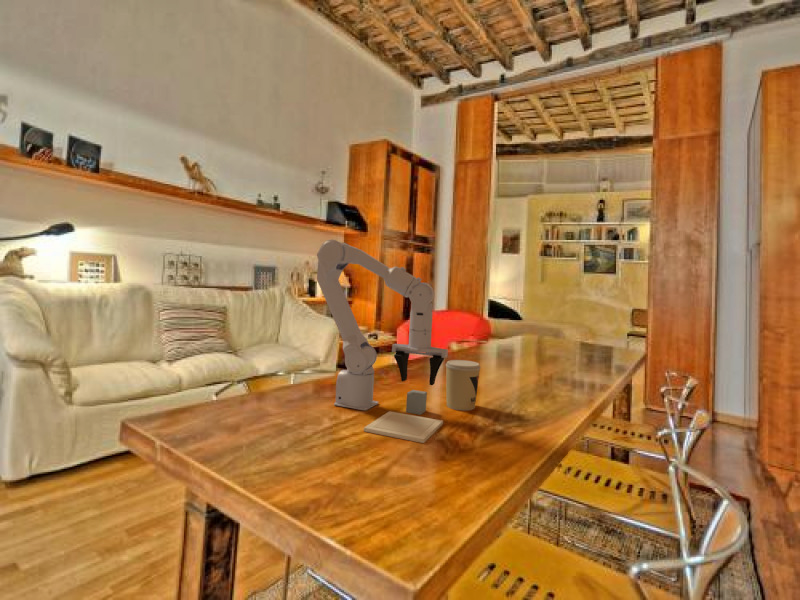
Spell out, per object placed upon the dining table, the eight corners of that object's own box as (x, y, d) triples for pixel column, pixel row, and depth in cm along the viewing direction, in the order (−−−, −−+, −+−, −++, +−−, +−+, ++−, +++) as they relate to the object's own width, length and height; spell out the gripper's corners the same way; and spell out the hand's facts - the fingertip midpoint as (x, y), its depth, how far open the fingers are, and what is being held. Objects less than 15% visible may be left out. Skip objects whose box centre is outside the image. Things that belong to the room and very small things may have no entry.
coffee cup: (477, 413, 116) (480, 367, 115) (441, 409, 118) (444, 364, 117) (478, 403, 125) (481, 361, 124) (445, 400, 127) (447, 358, 126)
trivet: (363, 431, 98) (363, 427, 98) (389, 414, 111) (389, 410, 111) (423, 443, 92) (423, 439, 92) (442, 423, 105) (443, 420, 105)
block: (406, 412, 113) (407, 393, 113) (411, 408, 117) (412, 389, 117) (420, 415, 112) (421, 395, 111) (425, 410, 115) (426, 392, 115)
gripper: (388, 328, 112) (385, 381, 113) (443, 334, 107) (440, 389, 108) (398, 326, 119) (396, 376, 119) (451, 331, 113) (448, 383, 114)
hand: (417, 382), depth 114 cm, fingers open, 7 cm apart
